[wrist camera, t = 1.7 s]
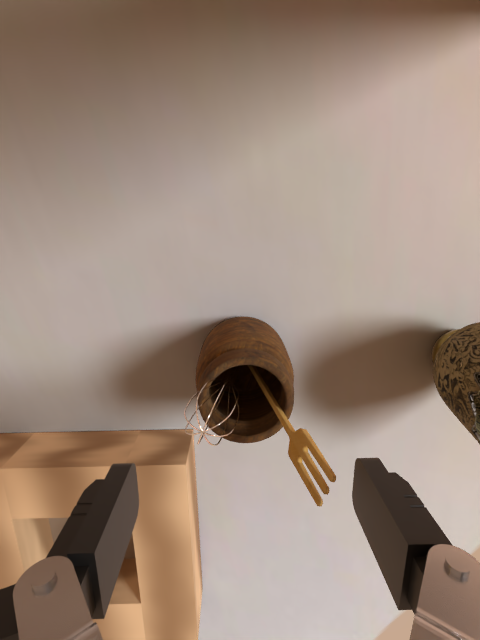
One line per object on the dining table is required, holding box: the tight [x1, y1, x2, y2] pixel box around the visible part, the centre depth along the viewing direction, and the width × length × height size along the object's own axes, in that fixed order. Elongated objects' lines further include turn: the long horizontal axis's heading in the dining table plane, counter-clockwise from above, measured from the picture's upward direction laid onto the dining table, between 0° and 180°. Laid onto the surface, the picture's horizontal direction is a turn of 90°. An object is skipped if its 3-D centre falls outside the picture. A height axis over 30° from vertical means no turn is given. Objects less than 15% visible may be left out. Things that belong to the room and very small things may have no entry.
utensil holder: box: [184, 317, 336, 506], centre depth 19 cm, size 6×6×12 cm
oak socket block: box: [0, 429, 202, 640], centre depth 26 cm, size 16×16×4 cm
